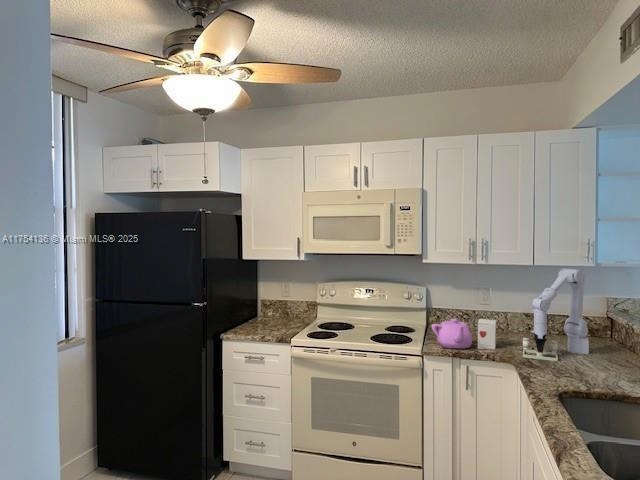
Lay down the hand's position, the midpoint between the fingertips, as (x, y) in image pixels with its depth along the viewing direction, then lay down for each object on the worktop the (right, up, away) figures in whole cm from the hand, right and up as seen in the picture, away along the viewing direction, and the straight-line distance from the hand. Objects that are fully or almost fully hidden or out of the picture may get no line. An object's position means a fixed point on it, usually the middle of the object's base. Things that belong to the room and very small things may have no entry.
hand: (540, 350), depth 214 cm
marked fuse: (0, -3, 0) cm, 3 cm away
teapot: (-36, -4, +21) cm, 42 cm away
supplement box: (-19, -4, +19) cm, 27 cm away
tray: (0, -4, 0) cm, 4 cm away
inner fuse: (+10, -3, +6) cm, 12 cm away
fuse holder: (+5, -4, +9) cm, 11 cm away
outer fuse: (-1, -3, +12) cm, 12 cm away
